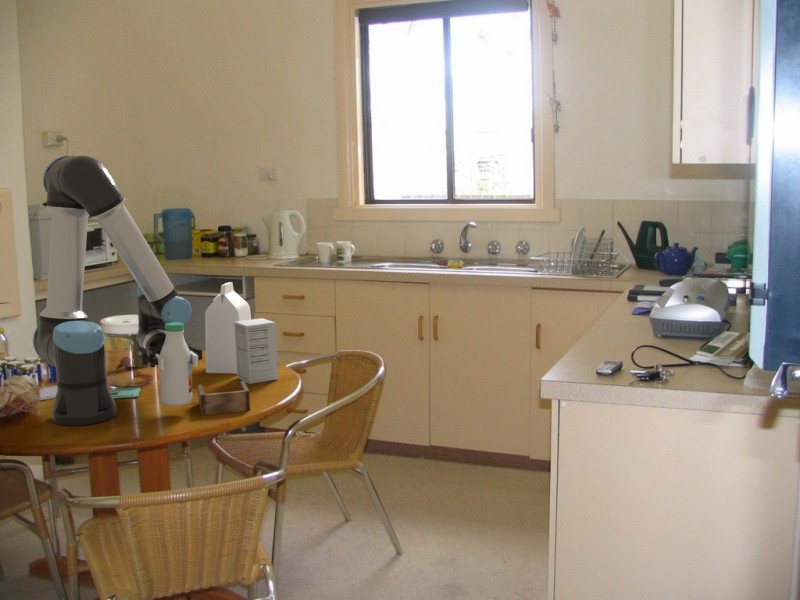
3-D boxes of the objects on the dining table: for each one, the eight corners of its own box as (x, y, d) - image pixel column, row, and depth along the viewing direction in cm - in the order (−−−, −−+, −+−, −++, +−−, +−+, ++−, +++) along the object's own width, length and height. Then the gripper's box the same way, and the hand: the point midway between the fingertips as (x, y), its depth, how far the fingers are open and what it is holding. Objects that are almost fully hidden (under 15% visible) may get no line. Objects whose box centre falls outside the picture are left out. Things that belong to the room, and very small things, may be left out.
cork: (129, 365, 278) (126, 330, 276) (147, 362, 281) (145, 328, 280) (136, 369, 273) (133, 333, 271) (155, 366, 277) (152, 331, 275)
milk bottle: (184, 407, 219) (182, 326, 216) (155, 405, 220) (152, 325, 217) (197, 399, 226) (195, 321, 223) (169, 397, 228) (166, 320, 225)
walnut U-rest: (201, 414, 223) (200, 395, 222) (198, 403, 234) (197, 384, 233) (250, 410, 227) (249, 391, 226) (245, 399, 237) (244, 380, 236)
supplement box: (279, 379, 257) (276, 322, 254) (249, 384, 252) (246, 326, 249) (265, 373, 265) (263, 317, 262) (236, 377, 260) (233, 320, 257)
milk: (242, 373, 265) (238, 286, 261) (205, 372, 267) (201, 286, 263) (255, 364, 277) (251, 280, 273) (219, 363, 279) (215, 280, 275)
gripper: (199, 356, 242) (221, 373, 222) (121, 363, 234) (137, 382, 213) (198, 329, 241) (220, 344, 221) (120, 335, 232) (135, 351, 212)
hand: (179, 362), depth 217 cm, fingers closed on milk bottle, 8 cm apart
